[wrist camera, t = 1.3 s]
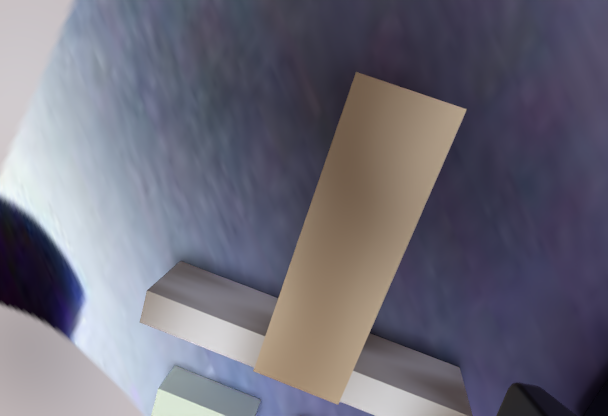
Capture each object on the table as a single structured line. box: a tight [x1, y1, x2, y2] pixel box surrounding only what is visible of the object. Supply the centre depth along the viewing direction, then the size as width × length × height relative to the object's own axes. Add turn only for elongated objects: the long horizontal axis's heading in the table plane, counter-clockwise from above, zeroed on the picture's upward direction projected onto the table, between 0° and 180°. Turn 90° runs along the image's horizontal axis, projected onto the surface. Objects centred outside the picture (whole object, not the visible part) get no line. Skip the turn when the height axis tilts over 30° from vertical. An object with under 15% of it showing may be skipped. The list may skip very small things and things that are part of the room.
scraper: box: [140, 72, 472, 416], centre depth 15 cm, size 13×12×5 cm
